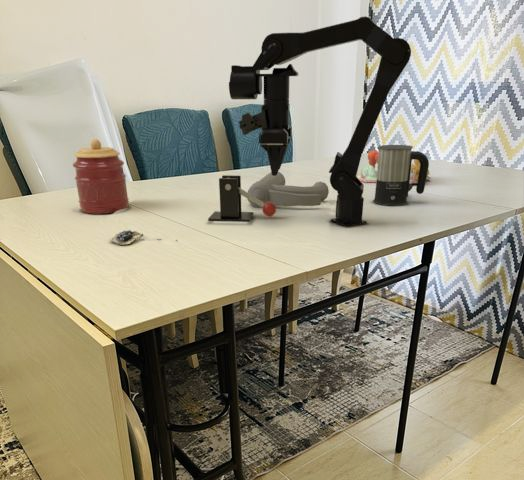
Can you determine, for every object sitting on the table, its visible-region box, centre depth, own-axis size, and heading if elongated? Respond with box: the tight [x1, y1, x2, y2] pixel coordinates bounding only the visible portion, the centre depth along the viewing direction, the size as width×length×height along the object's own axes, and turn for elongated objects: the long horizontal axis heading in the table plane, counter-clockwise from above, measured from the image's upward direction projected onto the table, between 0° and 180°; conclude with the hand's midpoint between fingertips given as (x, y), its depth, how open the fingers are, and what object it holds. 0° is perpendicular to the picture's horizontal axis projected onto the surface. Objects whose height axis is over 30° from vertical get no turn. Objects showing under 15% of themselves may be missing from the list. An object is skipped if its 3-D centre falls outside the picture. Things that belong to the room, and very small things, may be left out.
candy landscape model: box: [356, 149, 432, 184], centre depth 174 cm, size 25×24×9 cm
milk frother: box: [373, 144, 430, 206], centre depth 144 cm, size 14×16×15 cm
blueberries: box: [110, 229, 144, 246], centre depth 112 cm, size 7×8×2 cm
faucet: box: [247, 171, 330, 208], centre depth 144 cm, size 7×21×26 cm
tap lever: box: [227, 177, 277, 217], centre depth 124 cm, size 14×3×3 cm
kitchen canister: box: [72, 138, 130, 215], centre depth 135 cm, size 13×13×18 cm
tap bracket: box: [207, 174, 254, 223], centre depth 125 cm, size 10×8×10 cm
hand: (276, 172), depth 122 cm, fingers open, 9 cm apart
